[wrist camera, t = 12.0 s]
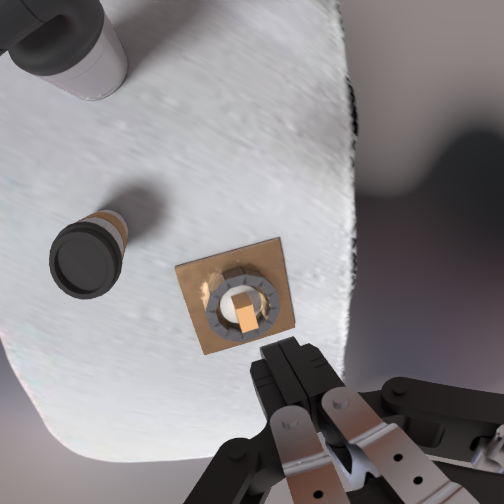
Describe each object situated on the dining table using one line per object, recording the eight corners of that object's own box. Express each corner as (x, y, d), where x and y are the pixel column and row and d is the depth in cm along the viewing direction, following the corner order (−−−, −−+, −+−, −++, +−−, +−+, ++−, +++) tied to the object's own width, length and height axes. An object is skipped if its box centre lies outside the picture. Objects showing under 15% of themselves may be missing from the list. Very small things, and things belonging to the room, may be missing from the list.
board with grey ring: (174, 266, 47) (175, 276, 44) (277, 237, 50) (286, 245, 46) (203, 351, 53) (206, 365, 49) (293, 324, 55) (301, 336, 52)
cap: (214, 289, 49) (219, 306, 44) (254, 277, 50) (264, 292, 44) (225, 324, 51) (231, 343, 46) (263, 312, 52) (273, 330, 47)
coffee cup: (106, 269, 45) (83, 318, 31) (70, 228, 42) (30, 262, 28) (146, 233, 45) (135, 271, 31) (109, 189, 42) (80, 208, 28)
